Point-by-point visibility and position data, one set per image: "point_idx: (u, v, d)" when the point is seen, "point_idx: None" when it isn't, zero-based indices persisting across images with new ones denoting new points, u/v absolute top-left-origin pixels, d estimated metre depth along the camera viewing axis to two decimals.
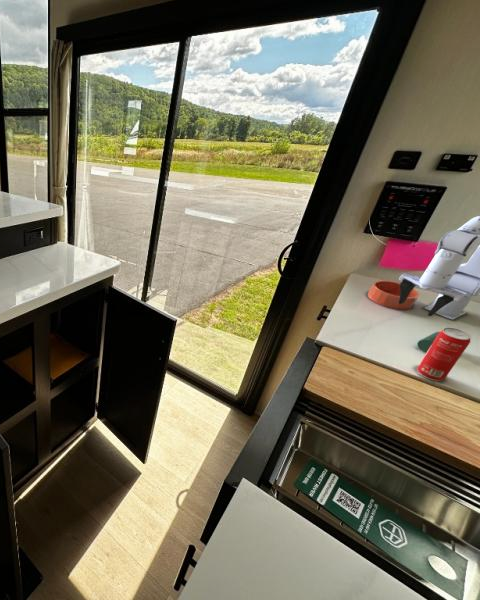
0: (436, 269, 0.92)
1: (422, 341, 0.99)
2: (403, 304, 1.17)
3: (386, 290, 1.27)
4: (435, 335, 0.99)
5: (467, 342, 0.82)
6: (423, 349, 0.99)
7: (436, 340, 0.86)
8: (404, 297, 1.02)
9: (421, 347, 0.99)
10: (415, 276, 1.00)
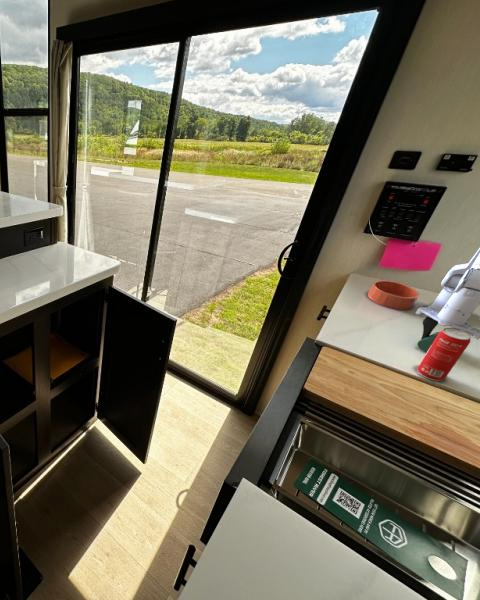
0: (459, 307, 0.91)
1: (422, 341, 0.99)
2: (403, 304, 1.17)
3: (386, 290, 1.27)
4: (435, 335, 0.99)
5: (467, 342, 0.82)
6: (423, 349, 0.99)
7: (436, 340, 0.86)
8: (427, 334, 1.00)
9: (421, 348, 0.99)
10: (433, 310, 0.99)
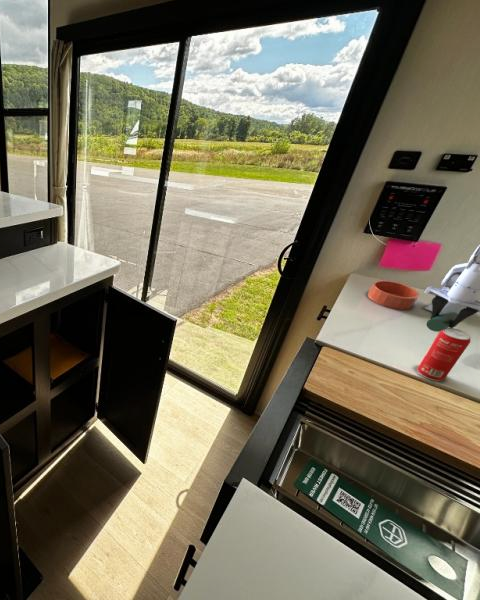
0: (470, 284, 0.88)
1: (431, 321, 0.96)
2: (403, 304, 1.17)
3: (386, 290, 1.27)
4: (445, 315, 0.97)
5: (467, 342, 0.82)
6: (432, 329, 0.97)
7: (436, 340, 0.86)
8: (437, 313, 0.98)
9: (430, 327, 0.97)
10: (442, 289, 0.97)
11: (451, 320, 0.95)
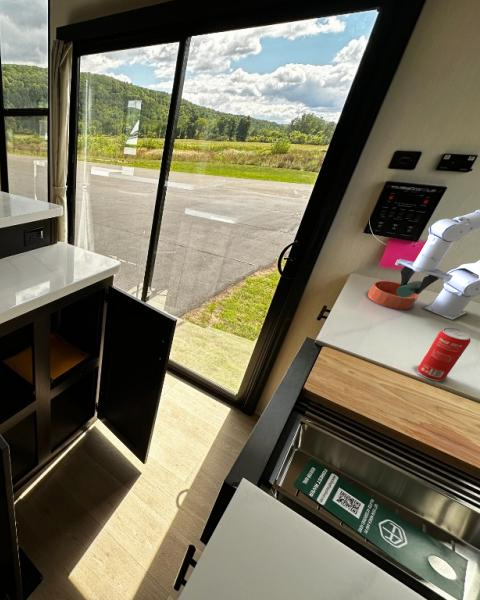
0: (423, 252, 1.06)
1: (400, 288, 1.12)
2: (403, 304, 1.17)
3: (386, 290, 1.27)
4: (412, 283, 1.12)
5: (467, 342, 0.82)
6: (401, 295, 1.12)
7: (436, 340, 0.86)
8: (405, 282, 1.13)
9: (399, 294, 1.12)
10: (409, 261, 1.12)
11: (417, 287, 1.11)
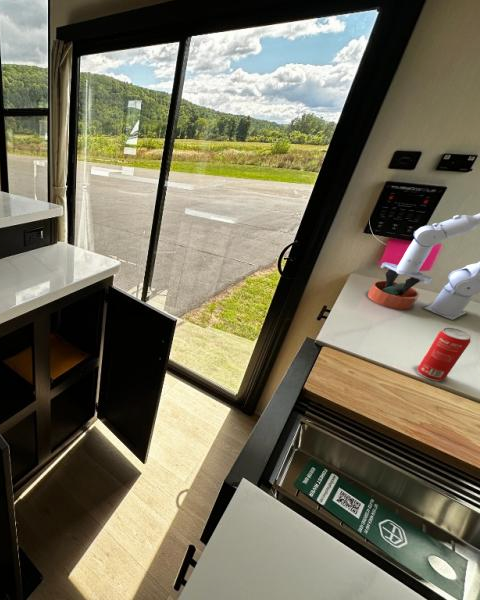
0: (404, 254, 1.15)
1: (385, 289, 1.20)
2: (403, 304, 1.17)
3: None
4: (396, 285, 1.20)
5: (467, 342, 0.82)
6: None
7: (436, 340, 0.86)
8: (390, 284, 1.21)
9: None
10: None
11: (400, 289, 1.19)
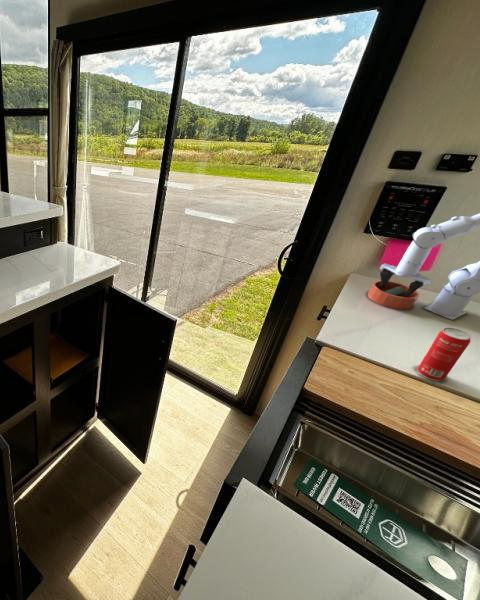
0: (403, 256, 1.15)
1: None
2: (403, 304, 1.17)
3: (386, 290, 1.27)
4: (393, 289, 1.21)
5: (467, 342, 0.82)
6: None
7: (436, 340, 0.86)
8: (384, 283, 1.23)
9: None
10: (393, 266, 1.20)
11: (397, 293, 1.20)
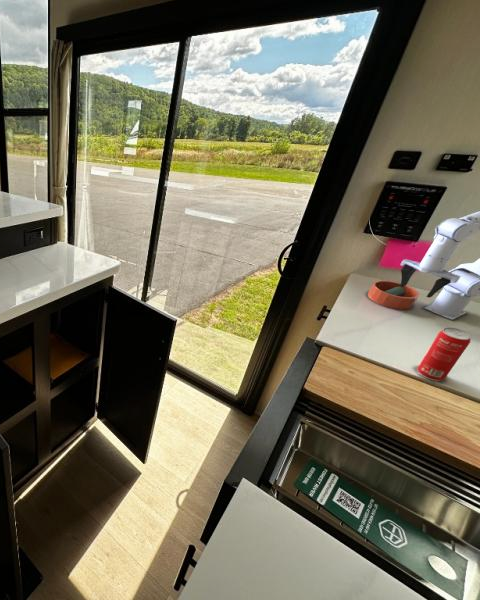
0: (430, 252, 1.03)
1: None
2: (403, 304, 1.17)
3: (386, 290, 1.27)
4: (393, 289, 1.21)
5: (467, 342, 0.82)
6: None
7: (436, 340, 0.86)
8: (405, 281, 1.12)
9: None
10: None
11: (397, 293, 1.20)
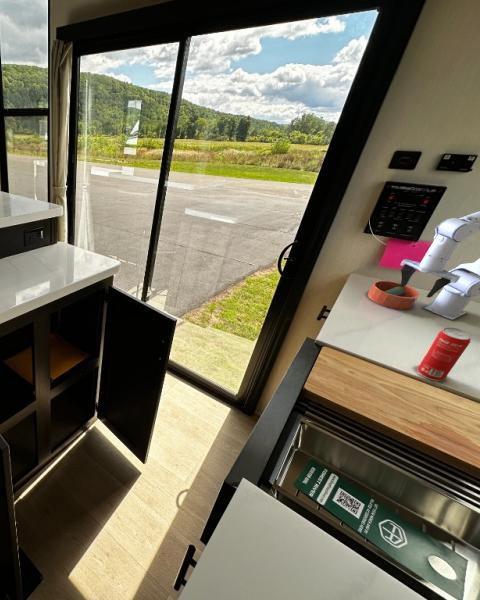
0: (430, 252, 1.03)
1: None
2: (403, 304, 1.17)
3: (386, 290, 1.27)
4: (393, 289, 1.21)
5: (467, 342, 0.82)
6: None
7: (436, 340, 0.86)
8: (405, 281, 1.12)
9: None
10: None
11: (398, 293, 1.20)
